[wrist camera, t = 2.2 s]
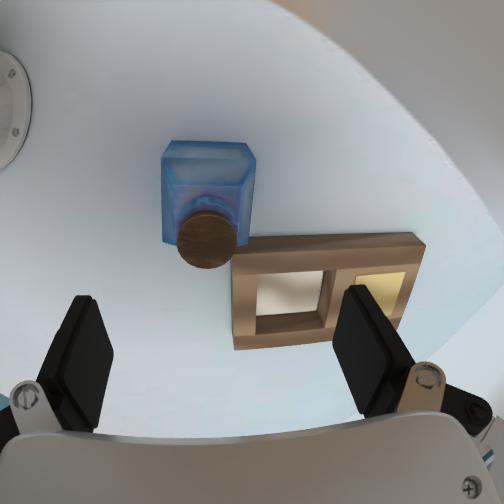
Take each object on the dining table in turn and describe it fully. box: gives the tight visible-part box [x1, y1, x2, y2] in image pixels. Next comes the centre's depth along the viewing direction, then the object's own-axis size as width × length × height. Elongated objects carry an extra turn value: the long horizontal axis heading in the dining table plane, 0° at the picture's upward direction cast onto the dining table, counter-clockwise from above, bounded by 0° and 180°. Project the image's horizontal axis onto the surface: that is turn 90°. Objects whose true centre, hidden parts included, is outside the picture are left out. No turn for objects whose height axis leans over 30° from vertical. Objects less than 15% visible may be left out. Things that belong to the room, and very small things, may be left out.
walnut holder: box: [231, 232, 426, 350], centre depth 33 cm, size 12×20×3 cm, turn 89°
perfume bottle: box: [161, 141, 256, 269], centre depth 21 cm, size 6×6×12 cm
